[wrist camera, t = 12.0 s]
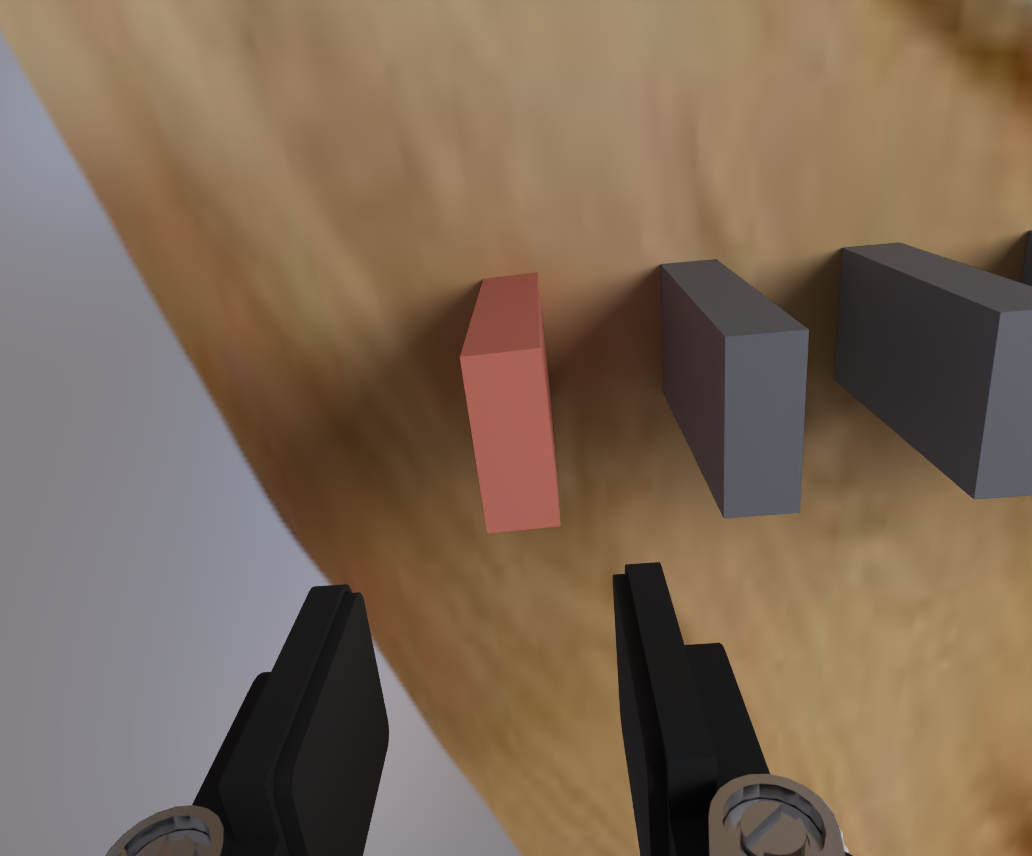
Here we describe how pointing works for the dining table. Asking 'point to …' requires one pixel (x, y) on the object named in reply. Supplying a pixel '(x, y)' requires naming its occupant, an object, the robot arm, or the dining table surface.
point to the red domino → (511, 406)
